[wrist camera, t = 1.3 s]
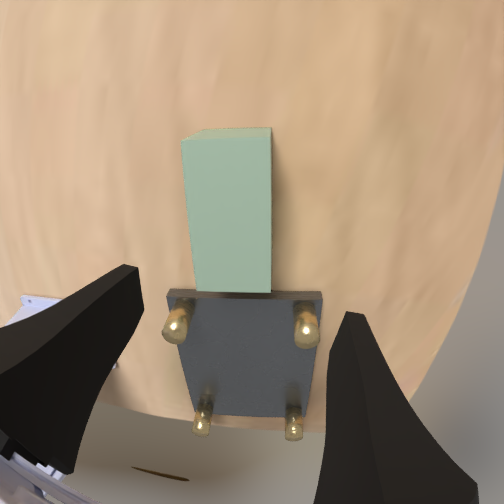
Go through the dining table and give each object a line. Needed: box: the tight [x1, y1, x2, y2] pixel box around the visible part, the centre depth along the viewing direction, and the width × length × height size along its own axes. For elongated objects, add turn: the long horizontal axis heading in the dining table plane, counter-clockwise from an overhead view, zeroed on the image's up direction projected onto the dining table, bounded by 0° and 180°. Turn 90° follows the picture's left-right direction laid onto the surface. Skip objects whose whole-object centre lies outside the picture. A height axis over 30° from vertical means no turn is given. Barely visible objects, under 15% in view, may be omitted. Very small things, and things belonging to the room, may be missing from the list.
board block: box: [181, 128, 272, 293], centre depth 17 cm, size 4×8×5 cm, turn 1°
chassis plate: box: [162, 289, 323, 441], centre depth 24 cm, size 11×15×4 cm
